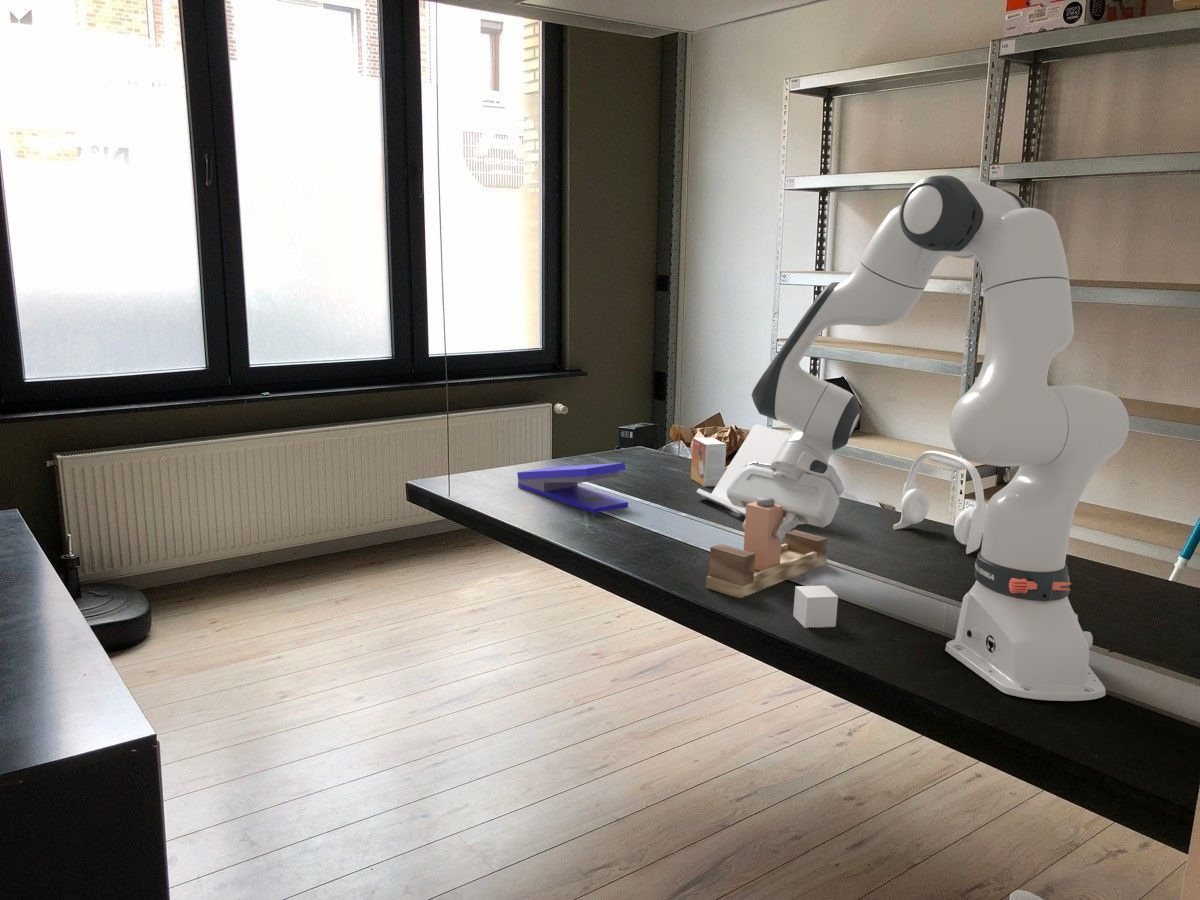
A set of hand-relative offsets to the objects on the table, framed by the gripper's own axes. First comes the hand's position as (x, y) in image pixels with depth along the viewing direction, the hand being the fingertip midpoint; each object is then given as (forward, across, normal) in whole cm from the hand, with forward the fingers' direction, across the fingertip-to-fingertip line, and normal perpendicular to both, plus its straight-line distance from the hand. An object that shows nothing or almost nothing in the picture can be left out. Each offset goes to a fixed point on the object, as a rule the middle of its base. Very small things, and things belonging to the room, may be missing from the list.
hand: (761, 533), depth 167 cm
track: (+4, 0, +8) cm, 9 cm away
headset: (-28, +10, +40) cm, 50 cm away
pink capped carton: (+4, 0, +5) cm, 6 cm away
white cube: (+13, +17, -1) cm, 21 cm away
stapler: (-4, -62, +17) cm, 64 cm away
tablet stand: (-21, -26, +34) cm, 48 cm away
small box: (-29, -50, +41) cm, 71 cm away
